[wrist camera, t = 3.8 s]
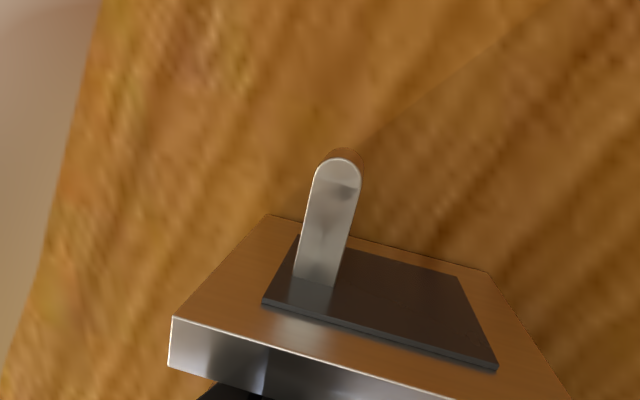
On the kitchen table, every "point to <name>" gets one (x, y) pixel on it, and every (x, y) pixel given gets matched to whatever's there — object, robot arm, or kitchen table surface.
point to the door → (353, 315)
